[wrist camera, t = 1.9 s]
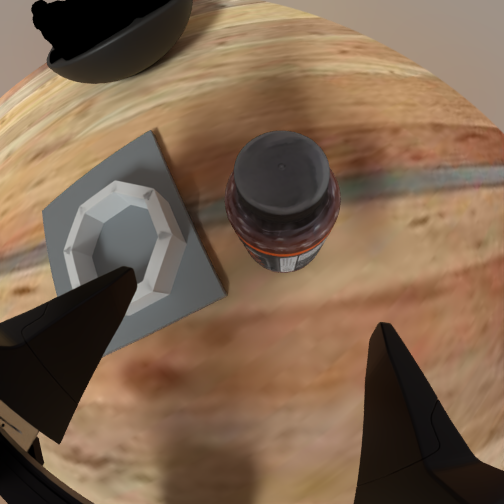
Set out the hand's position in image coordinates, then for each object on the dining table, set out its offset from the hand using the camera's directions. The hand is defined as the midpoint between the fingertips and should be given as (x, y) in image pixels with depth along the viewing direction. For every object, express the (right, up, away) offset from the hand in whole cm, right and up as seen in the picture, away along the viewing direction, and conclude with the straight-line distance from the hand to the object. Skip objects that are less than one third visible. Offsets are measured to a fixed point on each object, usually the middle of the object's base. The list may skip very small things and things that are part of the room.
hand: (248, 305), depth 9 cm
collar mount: (-13, +2, +14) cm, 19 cm away
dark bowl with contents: (-15, +29, +20) cm, 38 cm away
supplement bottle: (+3, +3, +13) cm, 13 cm away
